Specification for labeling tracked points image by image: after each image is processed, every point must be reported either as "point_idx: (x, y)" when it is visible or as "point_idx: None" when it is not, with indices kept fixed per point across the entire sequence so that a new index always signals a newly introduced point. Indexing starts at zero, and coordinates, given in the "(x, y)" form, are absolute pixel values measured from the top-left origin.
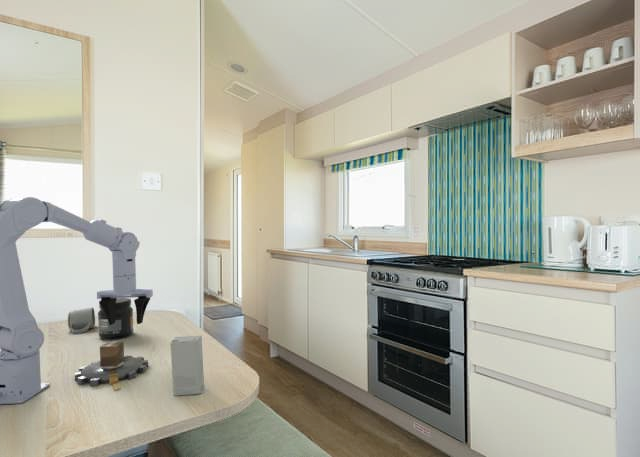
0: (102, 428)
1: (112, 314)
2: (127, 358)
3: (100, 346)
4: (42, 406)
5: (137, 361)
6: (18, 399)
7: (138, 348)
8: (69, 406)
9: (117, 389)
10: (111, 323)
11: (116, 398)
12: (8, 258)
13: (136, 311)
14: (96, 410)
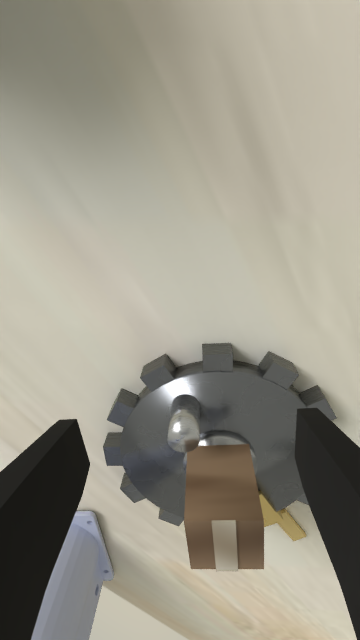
0: (343, 636)
1: (44, 518)
2: (230, 388)
3: (191, 566)
4: (168, 580)
5: (291, 418)
6: (102, 580)
7: (163, 161)
8: (228, 583)
9: (300, 537)
10: (85, 471)
11: (317, 564)
12: None
13: (348, 606)
14: (298, 597)
